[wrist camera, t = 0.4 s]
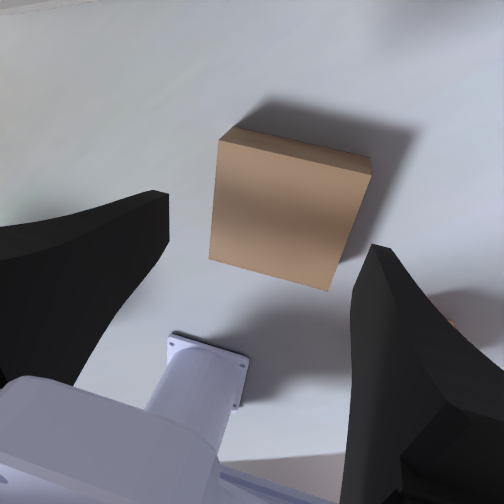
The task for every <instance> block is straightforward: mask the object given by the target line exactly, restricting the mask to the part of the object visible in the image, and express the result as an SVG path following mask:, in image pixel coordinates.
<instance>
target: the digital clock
mask: <svg viewBox="0 0 504 504" xmlns="http://www.w3.org/2000/svg"><path fill="white" fill-rule="evenodd" d="M92 1H98V0H0V15H14V14H21V13H28V12H34V11H40V10H46V9H52V8H58V7H64V6H69V5H75V4H81V3H87V2H92Z"/></svg>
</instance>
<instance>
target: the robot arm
mask: <svg viewBox="0 0 504 504" xmlns="http://www.w3.org/2000/svg"><path fill="white" fill-rule="evenodd" d="M169 241H170V239H169V194H168V193H164V192H159V191H155V190H151V191H146V192H142V193H139V194H136V195H133V196H130V197H127V198H124V199H121V200H118V201H115V202H112V203H109V204H105V205H102V206H99V207H96V208H92V209H89V210H85V211H82V212H78V213H75V214H71V215H67V216H63V217H58V218H53V219H48V220H43V221H38V222H32V223H25V224H18V225H10V226H3V227H0V504H336V503H334V502H331V501H328V500H325V499H322V498H319V497H316V496H313V495H310V494H307V493H304V492H301V491H298V490H296V489H293V488H290V487H286V486H284V485H281V484H278V483H275V482H272V481H269V480H266V479H263V478H260V477H257V476H254V475H251V474H249V473H246V472H242V471H240V470H237V469H234V468H231V467H228V466H225V465H222V464H220V462H219V459H218V457H217V454H218V451H219V448H220V444H221V441H222V438H223V435H224V432H225V429H226V425H227V422H228V419H229V416H230V413H231V412H232V413H237V412H238V408H239V404H240V400H241V395H242V391H243V387H244V382H245V378H246V373H247V369H248V365H249V359H248V358H247V357H245V356H242V355H239V354H236V353H233V352H229V351H226V350H223V349H220V348H216V347H213V346H210V345H207V344H203V343H200V342H197V341H193V340H190V339H187V338H184V337H180V336H177V335H174V334H170V335H169V336H168V337H167V368H166V369H165V371H164V373H163V375H162V377H161V379H160V381H159V383H158V384H157V386H156V388H155V390H154V392H153V394H152V396H151V397H150V399H149V401H148V403H147V405H146V407H145V409H144V410H142V409H139V408H136V407H133V406H130V405H127V404H124V403H121V402H118V401H115V400H112V399H109V398H106V397H103V396H100V395H97V394H94V393H91V392H88V391H85V390H82V389H79V388H76V387H73V385H74V383H75V382H76V380H77V378H78V376H79V374H80V373H81V371H82V369H83V367H84V365H85V364H86V362H87V360H88V358H89V357H90V355H91V353H92V352H93V350H94V348H95V347H96V345H97V343H98V342H99V340H100V338H101V337H102V335H103V333H104V332H105V330H106V329H107V327H108V326H109V324H110V322H111V321H112V319H113V318H114V316H115V315H116V313H117V312H118V311H119V309H120V308H121V306H122V305H123V304H124V303H125V301H126V300H127V299H128V298H129V296H130V295H131V294H132V293H133V292H134V290H135V289H136V288H137V287H138V285H139V284H140V283H141V282H142V281H143V279H144V278H145V277H146V276H147V274H148V273H149V272H150V271H151V269H152V268H153V267H154V266H155V264H156V263H157V262H158V260H159V258H160V257H161V255H162V253H163V252H164V250H165V248H166V246H167V245H168V243H169ZM350 331H351V359H352V388H351V401H350V414H349V425H348V435H347V445H346V454H345V464H344V472H343V481H342V488H341V496H340V504H504V371H503V370H502V369H501V368H500V367H498V366H497V365H496V364H495V363H493V362H492V361H491V360H490V359H489V358H488V357H486V356H485V355H484V354H483V353H482V352H480V351H479V350H478V349H477V348H476V347H475V346H473V345H472V344H471V343H470V342H469V341H468V340H467V339H466V338H465V337H464V336H463V335H462V334H461V333H460V332H459V331H458V330H457V329H456V328H455V327H454V326H453V325H452V324H451V323H450V322H449V321H448V320H447V319H446V318H445V317H444V316H443V315H442V314H441V313H440V312H439V311H438V310H437V308H436V307H435V306H434V305H433V304H432V303H431V301H430V300H429V299H428V298H427V297H426V295H425V294H424V293H423V292H422V290H421V289H420V288H419V286H418V285H417V284H416V283H415V281H414V280H413V279H412V277H411V276H410V274H409V273H408V272H407V270H406V269H405V267H404V266H403V265H402V263H401V262H400V260H399V259H398V257H397V256H396V255H395V253H394V252H393V251H392V249H391V248H387V247H383V246H379V245H375V244H372V245H371V247H370V249H369V252H368V254H367V256H366V259H365V261H364V264H363V266H362V268H361V271H360V273H359V276H358V278H357V280H356V283H355V285H354V287H353V291H352V300H351V310H350Z"/></svg>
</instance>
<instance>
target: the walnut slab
mask: <svg viewBox="0 0 504 504" xmlns="http://www.w3.org/2000/svg"><path fill="white" fill-rule="evenodd" d="M371 176H372V173H371V163H370V157H365V156H361V155H357V154H352V153H348V152H343V151H339V150H335V149H330V148H326V147H321V146H317V145H313V144H308V143H304V142H299V141H295V140H291V139H286V138H282V137H277V136H273V135H269V134H264V133H260V132H255V131H251V130H247V129H242V128H238V127H232V128H231V129H230V130H229V131H228V132H227V133H226V134H225V135H223V136H222V137H221V138H220V139H219V142H218V154H217V165H216V177H215V189H214V201H213V213H212V225H211V237H210V249H209V259H210V260H214V261H218V262H221V263H225V264H229V265H232V266H236V267H240V268H243V269H247V270H251V271H254V272H258V273H262V274H265V275H269V276H273V277H276V278H280V279H284V280H287V281H291V282H295V283H298V284H302V285H306V286H309V287H313V288H317V289H320V290H324V291H328V289H329V287H330V284H331V281H332V279H333V276H334V273H335V271H336V268H337V266H338V263H339V260H340V258H341V255H342V252H343V250H344V247H345V245H346V242H347V239H348V237H349V234H350V231H351V229H352V226H353V223H354V221H355V218H356V216H357V213H358V210H359V208H360V205H361V202H362V200H363V197H364V195H365V192H366V189H367V187H368V184H369V181H370V179H371Z"/></svg>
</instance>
